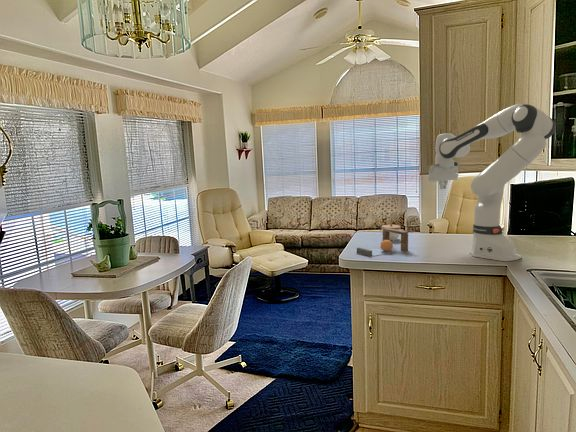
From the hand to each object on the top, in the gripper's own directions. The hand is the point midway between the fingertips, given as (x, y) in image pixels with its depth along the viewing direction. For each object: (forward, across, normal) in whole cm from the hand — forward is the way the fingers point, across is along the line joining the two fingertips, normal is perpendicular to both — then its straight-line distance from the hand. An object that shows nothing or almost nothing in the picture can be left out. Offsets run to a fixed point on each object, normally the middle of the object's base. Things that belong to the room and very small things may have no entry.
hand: (443, 189), depth 237 cm
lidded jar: (+29, -18, +21) cm, 40 cm away
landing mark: (+29, -47, +3) cm, 55 cm away
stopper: (+29, -54, +3) cm, 61 cm away
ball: (+26, -41, +1) cm, 49 cm away
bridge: (+29, -33, +3) cm, 44 cm away
